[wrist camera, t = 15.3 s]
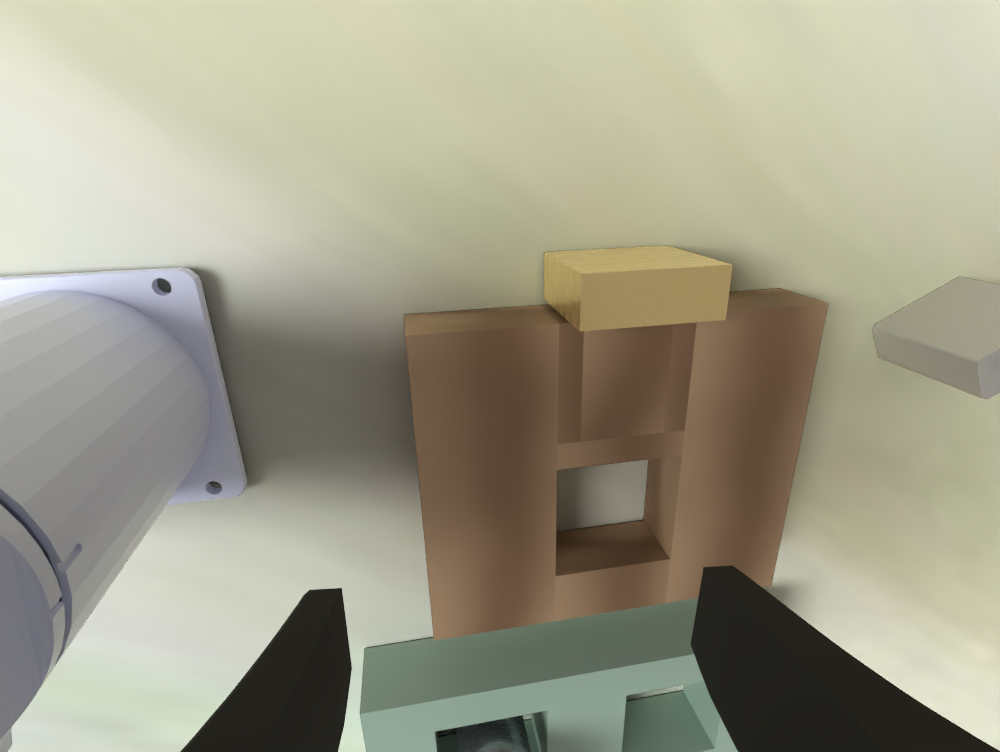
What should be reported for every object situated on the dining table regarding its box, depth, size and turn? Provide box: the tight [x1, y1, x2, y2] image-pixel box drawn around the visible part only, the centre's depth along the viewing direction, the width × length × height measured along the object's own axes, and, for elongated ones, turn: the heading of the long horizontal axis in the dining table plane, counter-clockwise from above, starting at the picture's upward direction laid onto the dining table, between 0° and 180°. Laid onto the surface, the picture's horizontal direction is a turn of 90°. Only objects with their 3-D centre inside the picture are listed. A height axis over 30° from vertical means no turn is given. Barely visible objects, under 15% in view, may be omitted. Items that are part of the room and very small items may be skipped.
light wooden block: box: [544, 246, 733, 331], centre depth 17 cm, size 4×6×4 cm
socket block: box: [404, 288, 828, 641], centre depth 20 cm, size 14×12×2 cm
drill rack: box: [360, 598, 738, 752], centre depth 24 cm, size 18×8×3 cm, turn 92°
